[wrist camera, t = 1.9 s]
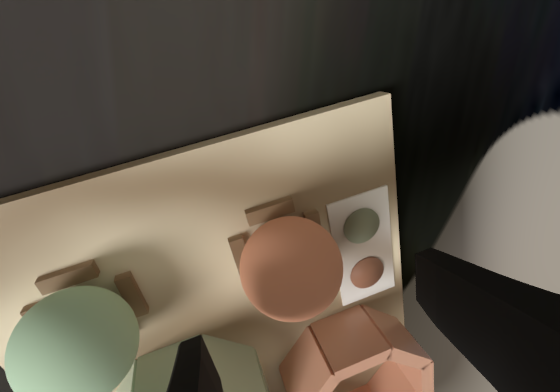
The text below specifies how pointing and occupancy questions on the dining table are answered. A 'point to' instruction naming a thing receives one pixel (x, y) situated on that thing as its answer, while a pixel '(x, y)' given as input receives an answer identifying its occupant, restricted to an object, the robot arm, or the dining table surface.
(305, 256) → the terracotta ball
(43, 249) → the board
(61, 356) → the sage ball
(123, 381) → the green octagonal ring
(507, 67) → the dining table surface
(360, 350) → the terracotta tube
